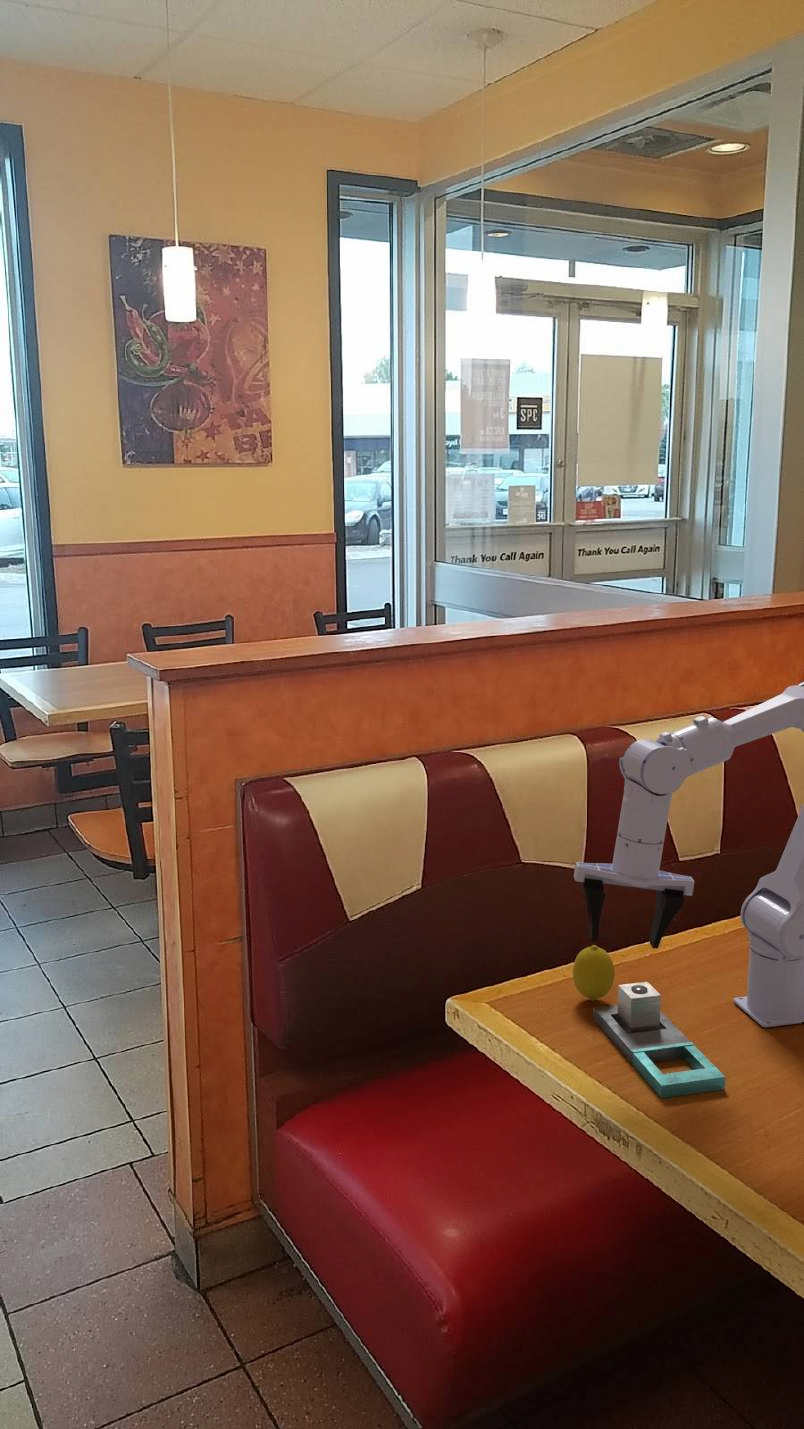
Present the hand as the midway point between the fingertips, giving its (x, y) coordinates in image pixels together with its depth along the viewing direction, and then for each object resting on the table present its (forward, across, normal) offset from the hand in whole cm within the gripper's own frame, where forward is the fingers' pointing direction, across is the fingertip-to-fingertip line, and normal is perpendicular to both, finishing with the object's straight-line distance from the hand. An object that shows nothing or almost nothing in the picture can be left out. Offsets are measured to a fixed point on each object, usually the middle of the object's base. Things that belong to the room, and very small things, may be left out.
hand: (623, 941), depth 141 cm
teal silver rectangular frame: (+12, +5, -4) cm, 14 cm away
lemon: (+13, 0, +10) cm, 16 cm away
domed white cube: (+12, +4, +1) cm, 13 cm away
